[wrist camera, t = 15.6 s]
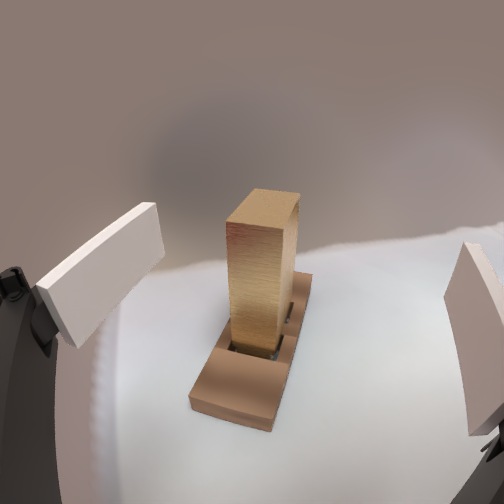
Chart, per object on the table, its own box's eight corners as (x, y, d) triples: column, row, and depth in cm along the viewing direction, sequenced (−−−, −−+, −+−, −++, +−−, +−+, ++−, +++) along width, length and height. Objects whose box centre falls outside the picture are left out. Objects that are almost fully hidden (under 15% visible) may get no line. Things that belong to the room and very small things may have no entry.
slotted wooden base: (257, 281, 40) (257, 265, 38) (310, 290, 38) (312, 274, 37) (192, 409, 23) (188, 395, 22) (270, 432, 21) (272, 419, 20)
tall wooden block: (254, 316, 34) (254, 188, 26) (288, 322, 33) (300, 193, 25) (233, 362, 28) (225, 221, 20) (273, 371, 27) (283, 229, 19)
